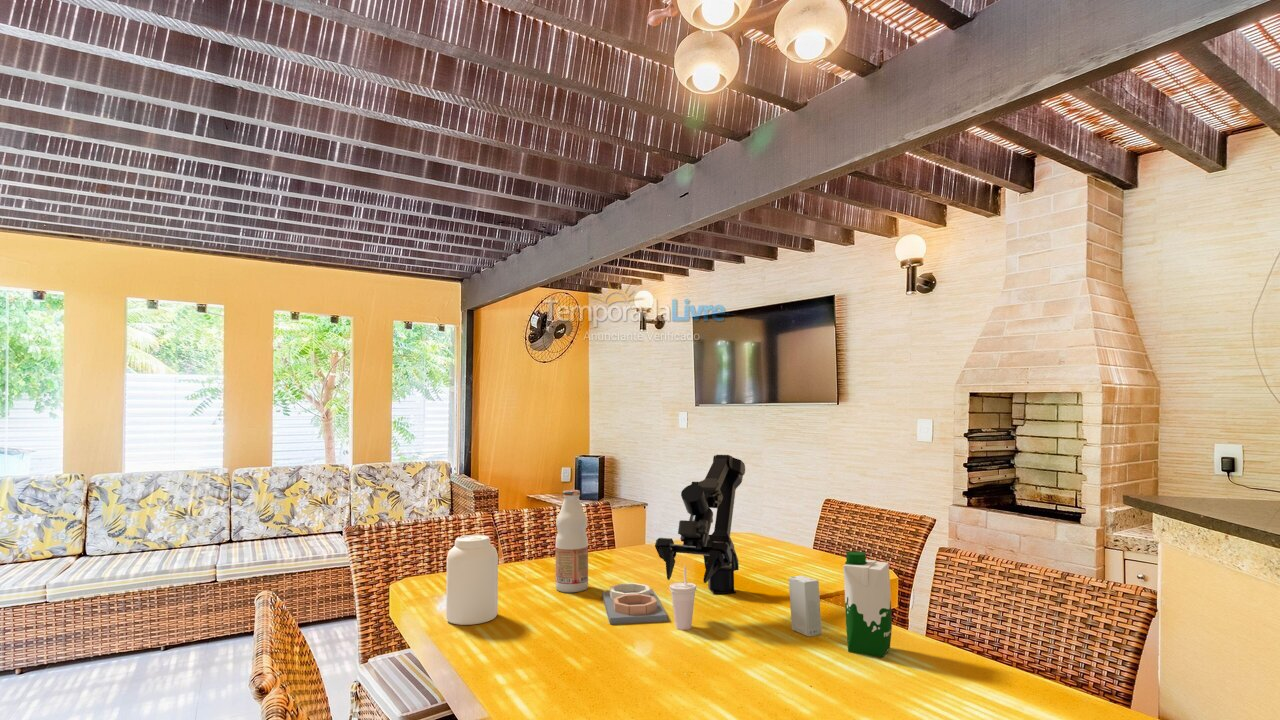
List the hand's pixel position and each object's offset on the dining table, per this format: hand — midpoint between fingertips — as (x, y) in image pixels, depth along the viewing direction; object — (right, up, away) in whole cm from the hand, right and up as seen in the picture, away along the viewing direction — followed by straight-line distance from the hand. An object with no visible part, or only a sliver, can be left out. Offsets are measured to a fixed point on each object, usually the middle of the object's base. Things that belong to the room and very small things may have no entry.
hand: (686, 580), depth 160 cm
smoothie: (-1, -10, -3) cm, 11 cm away
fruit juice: (-31, -13, +32) cm, 47 cm away
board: (-13, -11, +13) cm, 21 cm away
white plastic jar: (-53, -11, +6) cm, 55 cm away
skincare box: (+27, -10, -7) cm, 30 cm away
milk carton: (+38, -9, -19) cm, 43 cm away
